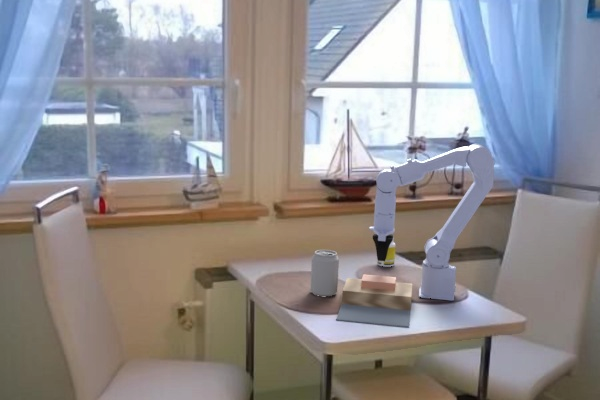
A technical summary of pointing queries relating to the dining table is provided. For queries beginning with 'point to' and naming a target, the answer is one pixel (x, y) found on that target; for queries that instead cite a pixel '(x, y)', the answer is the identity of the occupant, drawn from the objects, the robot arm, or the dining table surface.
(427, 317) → the dining table surface
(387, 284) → the pink rectangular block
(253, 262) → the dining table surface
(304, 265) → the dining table surface
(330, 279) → the can
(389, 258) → the supplement bottle
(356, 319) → the mat
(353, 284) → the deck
